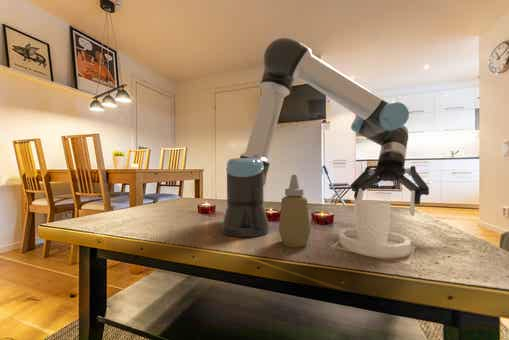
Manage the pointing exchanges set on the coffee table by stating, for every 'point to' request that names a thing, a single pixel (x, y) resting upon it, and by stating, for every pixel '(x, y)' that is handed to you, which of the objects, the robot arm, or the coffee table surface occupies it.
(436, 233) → the coffee table surface
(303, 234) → the squeeze bottle
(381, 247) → the dish
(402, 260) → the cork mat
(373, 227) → the white cup
